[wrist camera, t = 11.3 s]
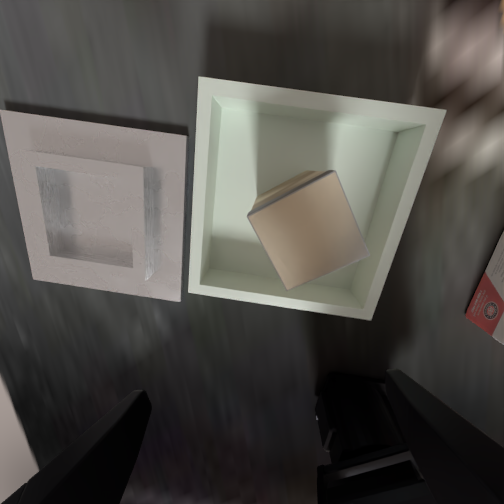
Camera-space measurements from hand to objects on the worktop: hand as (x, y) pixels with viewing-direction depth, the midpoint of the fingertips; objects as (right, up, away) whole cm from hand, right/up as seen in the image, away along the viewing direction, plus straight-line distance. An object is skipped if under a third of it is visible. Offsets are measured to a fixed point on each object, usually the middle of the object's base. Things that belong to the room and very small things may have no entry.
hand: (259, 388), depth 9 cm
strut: (+3, +8, +9) cm, 13 cm away
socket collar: (-13, +8, +12) cm, 19 cm away
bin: (+3, +9, +10) cm, 14 cm away
